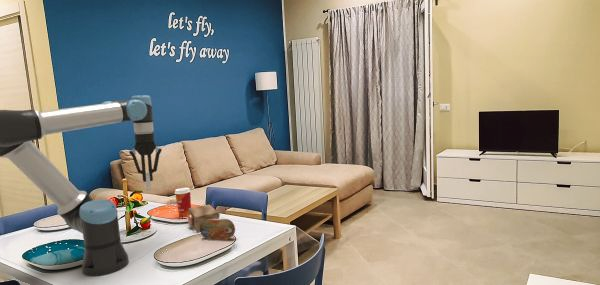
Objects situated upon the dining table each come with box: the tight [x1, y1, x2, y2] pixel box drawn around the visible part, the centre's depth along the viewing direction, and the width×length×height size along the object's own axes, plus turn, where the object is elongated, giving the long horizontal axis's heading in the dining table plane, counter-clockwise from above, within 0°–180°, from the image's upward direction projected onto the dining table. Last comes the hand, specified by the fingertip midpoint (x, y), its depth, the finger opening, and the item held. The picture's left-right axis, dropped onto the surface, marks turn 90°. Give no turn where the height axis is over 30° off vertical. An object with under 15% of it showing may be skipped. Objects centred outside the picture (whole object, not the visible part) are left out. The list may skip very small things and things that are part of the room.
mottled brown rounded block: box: [199, 218, 236, 241], centre depth 167 cm, size 15×3×8 cm, turn 73°
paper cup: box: [174, 187, 192, 218], centre depth 200 cm, size 8×8×14 cm
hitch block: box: [188, 204, 220, 233], centre depth 186 cm, size 10×16×7 cm, turn 26°
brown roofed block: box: [187, 210, 221, 227], centre depth 186 cm, size 14×5×5 cm, turn 116°
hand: (148, 189), depth 172 cm, fingers closed
